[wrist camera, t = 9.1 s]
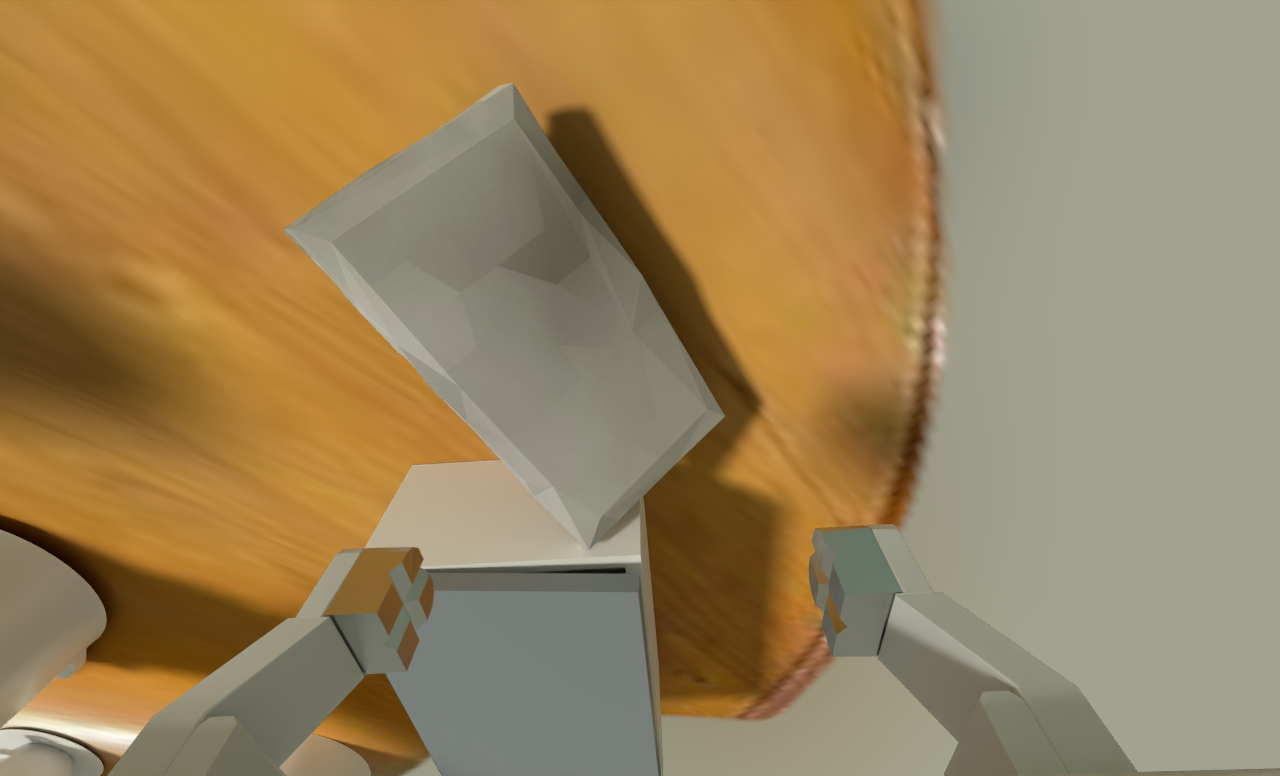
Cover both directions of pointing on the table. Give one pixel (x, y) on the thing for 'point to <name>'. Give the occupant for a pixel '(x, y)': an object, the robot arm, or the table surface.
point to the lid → (533, 676)
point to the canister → (324, 759)
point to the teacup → (44, 755)
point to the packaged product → (518, 310)
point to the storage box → (509, 535)
